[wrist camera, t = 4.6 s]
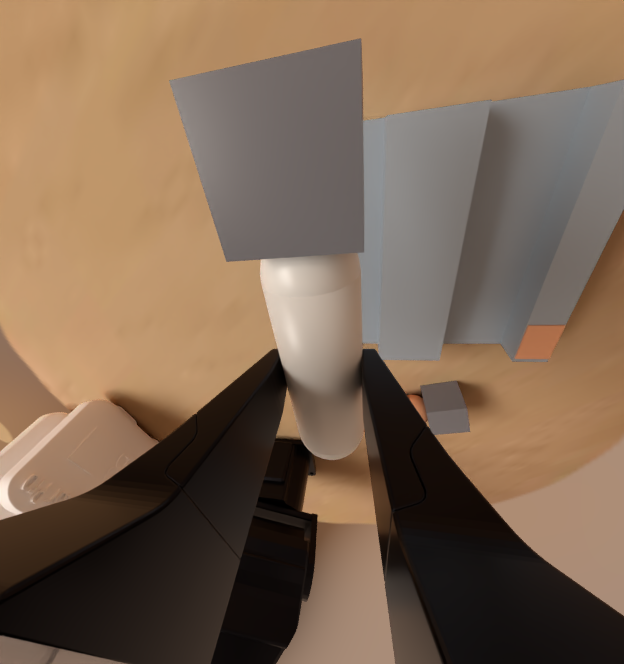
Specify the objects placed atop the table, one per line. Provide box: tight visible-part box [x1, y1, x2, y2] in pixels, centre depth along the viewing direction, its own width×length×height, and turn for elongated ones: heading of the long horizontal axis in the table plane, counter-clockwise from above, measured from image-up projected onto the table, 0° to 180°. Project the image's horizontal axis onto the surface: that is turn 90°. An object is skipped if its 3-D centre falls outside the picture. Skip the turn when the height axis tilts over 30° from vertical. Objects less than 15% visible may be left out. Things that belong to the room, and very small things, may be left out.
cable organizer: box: [0, 399, 159, 520], centre depth 31 cm, size 15×11×12 cm
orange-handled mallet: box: [364, 381, 470, 435], centre depth 23 cm, size 12×3×3 cm, turn 111°
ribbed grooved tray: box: [357, 80, 624, 362], centre depth 15 cm, size 13×16×3 cm
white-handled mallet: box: [169, 39, 364, 460], centre depth 8 cm, size 12×3×3 cm, turn 7°
